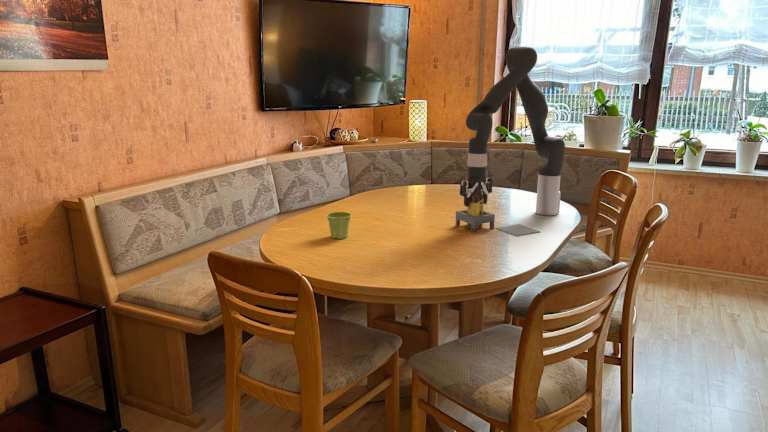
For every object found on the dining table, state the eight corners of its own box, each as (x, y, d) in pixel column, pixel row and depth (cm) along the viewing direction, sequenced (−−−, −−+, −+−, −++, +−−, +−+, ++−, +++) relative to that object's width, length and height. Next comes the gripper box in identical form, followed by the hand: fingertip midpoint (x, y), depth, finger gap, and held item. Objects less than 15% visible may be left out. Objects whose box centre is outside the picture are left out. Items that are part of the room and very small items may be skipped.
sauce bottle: (482, 229, 227) (484, 180, 222) (466, 229, 228) (468, 179, 223) (482, 225, 233) (485, 177, 228) (467, 224, 235) (469, 176, 230)
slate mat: (519, 224, 234) (519, 224, 234) (540, 232, 224) (540, 231, 224) (496, 228, 229) (496, 227, 228) (516, 236, 218) (516, 235, 218)
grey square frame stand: (475, 222, 238) (476, 208, 237) (494, 228, 228) (494, 214, 227) (455, 225, 233) (456, 211, 232) (473, 232, 224) (473, 217, 222)
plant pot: (332, 241, 211) (332, 219, 209) (323, 235, 219) (322, 213, 217) (355, 238, 215) (355, 216, 213) (345, 232, 224) (345, 210, 221)
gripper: (485, 161, 231) (483, 201, 235) (456, 164, 224) (455, 205, 228) (497, 164, 225) (495, 205, 229) (468, 167, 218) (466, 209, 222)
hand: (475, 205), depth 229 cm, fingers open, 8 cm apart
